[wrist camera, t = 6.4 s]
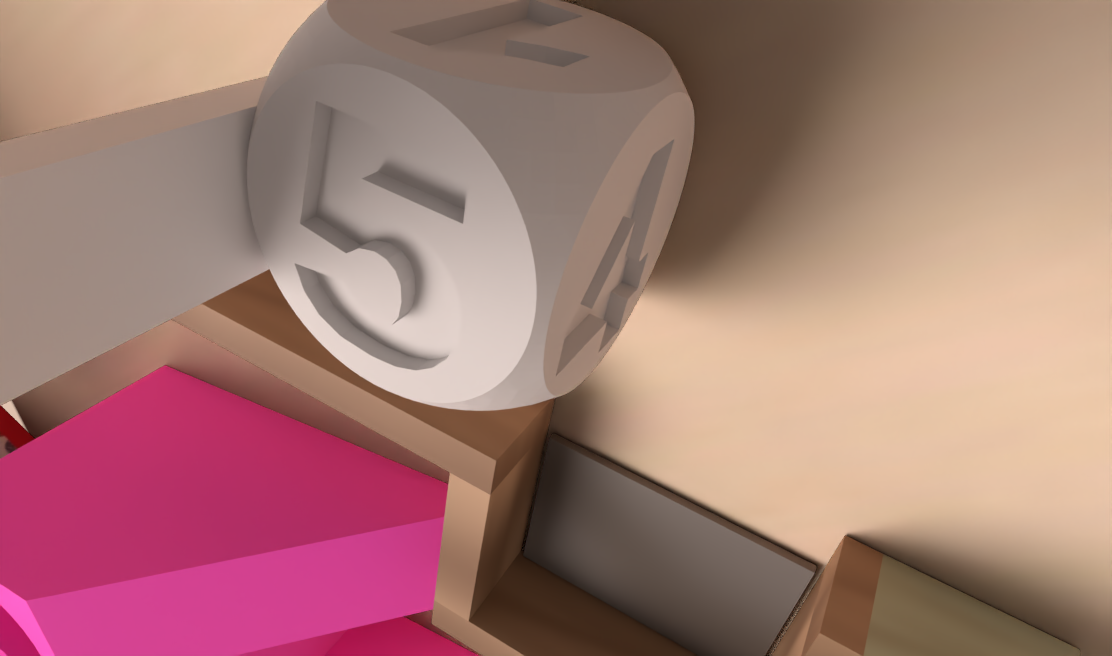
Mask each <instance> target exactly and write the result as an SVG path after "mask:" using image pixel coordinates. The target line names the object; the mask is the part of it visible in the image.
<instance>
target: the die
mask: <svg viewBox="0 0 1112 656" xmlns="http://www.w3.org/2000/svg"><path fill="white" fill-rule="evenodd" d="M694 126H695V118H694V108H693V104H692V101H691V99H690V97H689V94H688V92H687V90H686V88H685V86H684V83H683V81H682V79H681V77H680V74H679V73H678V71H677V69H676V67H675V65H674V64H673V62H672V60H671V58H670V56H669V55H668V53H667V52H666V51H665V50H664V49H663V48H662V47H661V46H660V45H659V44H658V43H656V42H655V41H654V40H653V39H651V38H650V37H648V36H647V35H645V34H643V33H642V32H640V31H638V30H636V29H635V28H633V27H631V26H629V25H627V24H625V23H622V22H620V21H618V20H616V19H613V18H611V17H608V16H606V15H603V14H601V13H598V12H595V11H593V10H590V9H587V8H584V7H581V6H578V5H575V4H571V3H568V2H565V1H561V0H326V1H325V2H324V3H323V4H322V5H321V6H320V7H318V8H317V9H316V10H315V11H314V12H313V13H312V14H311V15H310V16H309V17H308V18H307V19H306V21H305V22H304V23H303V24H302V25H301V26H300V27H299V28H298V30H297V31H296V32H295V33H294V34H293V36H292V37H291V38H290V40H289V41H288V43H287V44H286V46H285V47H284V48H283V50H282V52H281V53H280V55H279V57H278V58H277V60H276V62H275V64H274V65H273V67H272V69H271V71H270V73H269V76H268V78H267V80H266V82H265V85H264V87H263V90H262V92H261V95H260V98H259V101H258V104H257V107H256V111H255V115H254V118H253V123H252V127H251V132H250V139H249V146H248V157H247V190H248V200H249V206H250V212H251V216H252V221H253V225H254V229H255V232H256V236H257V239H258V242H259V245H260V248H261V250H262V253H263V256H264V258H265V260H266V263H267V265H268V267H269V269H270V271H271V273H272V275H273V277H274V279H275V281H276V283H277V285H278V287H279V289H280V290H281V292H282V294H283V295H284V297H285V299H286V300H287V302H288V303H289V305H290V306H291V308H292V309H293V311H294V312H295V313H296V315H297V316H298V317H299V319H300V320H301V321H302V323H303V324H304V325H305V326H306V328H307V329H308V330H309V331H310V332H311V333H312V335H313V336H314V337H315V338H316V339H317V340H318V341H319V342H320V343H321V344H322V345H323V346H324V347H325V348H326V349H327V350H328V351H329V352H330V353H331V354H332V355H333V356H334V357H336V358H337V359H338V360H339V361H341V362H342V363H343V364H344V365H345V366H347V367H348V368H349V369H351V370H352V371H354V372H355V373H357V374H358V375H359V376H361V377H363V378H364V379H366V380H368V381H369V382H371V383H373V384H374V385H376V386H378V387H381V388H383V389H385V390H387V391H389V392H392V393H394V394H397V395H399V396H402V397H404V398H407V399H410V400H413V401H416V402H420V403H424V404H428V405H432V406H437V407H443V408H449V409H458V410H472V411H490V410H503V409H511V408H517V407H523V406H528V405H533V404H536V403H540V402H543V401H546V400H549V399H552V398H556V397H559V396H562V395H565V394H567V393H569V392H571V391H572V390H574V389H575V388H576V387H577V386H579V385H580V384H581V383H582V382H583V381H584V380H585V379H586V378H587V377H588V376H589V375H590V374H591V372H592V371H593V370H594V369H595V368H596V366H597V365H598V364H599V363H600V361H601V360H602V359H603V357H604V356H605V355H606V353H607V352H608V350H609V349H610V347H611V346H612V344H613V343H614V341H615V340H616V338H617V337H618V335H619V333H620V332H621V330H622V328H623V327H624V325H625V323H626V322H627V320H628V318H629V316H630V315H631V313H632V311H633V309H634V307H635V305H636V303H637V301H638V300H639V298H640V296H641V294H642V292H643V290H644V288H645V286H646V283H647V281H648V279H649V277H650V275H651V273H652V271H653V268H654V266H655V264H656V262H657V259H658V257H659V255H660V252H661V250H662V247H663V245H664V242H665V240H666V237H667V235H668V232H669V229H670V227H671V224H672V221H673V218H674V215H675V212H676V209H677V206H678V203H679V200H680V197H681V193H682V190H683V187H684V183H685V179H686V175H687V171H688V167H689V162H690V157H691V152H692V146H693V139H694Z"/></svg>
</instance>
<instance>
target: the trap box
mask: <svg viewBox="0 0 1112 656" xmlns="http://www.w3.org/2000/svg"><path fill="white" fill-rule="evenodd" d="M172 320H173V321H175V322H177V323H179V324H181V325H182V326H184V327H186V328H188V329H190V330H192V331H193V332H195V333H197V334H199V335H201V336H202V337H204V338H206V339H208V340H210V341H211V342H213V343H215V344H217V345H219V346H221V347H222V348H224V349H226V350H228V351H230V352H231V353H233V354H235V355H237V356H239V357H241V358H242V359H244V360H246V361H248V362H250V363H251V364H253V365H255V366H257V367H259V368H261V369H262V370H264V371H266V372H268V373H270V374H271V375H273V376H275V377H277V378H279V379H281V380H282V381H284V382H286V383H288V384H290V385H291V386H293V387H295V388H297V389H299V390H301V391H302V392H304V393H306V394H308V395H310V396H311V397H313V398H315V399H317V400H319V401H321V402H322V403H324V404H326V405H328V406H330V407H331V408H333V409H335V410H337V411H339V412H340V413H342V414H344V415H346V416H348V417H350V418H351V419H353V420H355V421H357V422H359V423H360V424H362V425H364V426H366V427H368V428H370V429H371V430H373V431H375V432H377V433H379V434H380V435H382V436H384V437H386V438H388V439H390V440H391V441H393V442H395V443H397V444H399V445H400V446H402V447H404V448H406V449H408V450H410V451H411V452H413V453H415V454H417V455H419V456H420V457H422V458H424V459H426V460H428V461H430V462H431V463H433V464H435V465H437V466H439V467H440V468H442V469H444V470H446V471H448V472H450V475H449V483H448V491H447V499H446V507H445V516H444V524H443V532H442V540H441V548H440V557H439V565H438V573H437V581H436V589H435V598H434V606H433V614H432V622H431V624H433V625H434V626H436V627H438V628H439V629H441V630H442V631H444V632H445V633H447V634H449V635H450V636H452V637H453V638H455V639H457V640H458V641H460V642H461V643H463V644H465V645H466V646H468V647H469V648H471V649H473V650H474V651H476V652H477V653H479V654H480V655H482V656H765V655H766V653H767V651H768V650H769V648H770V646H771V645H772V643H773V642H774V640H775V638H776V637H777V635H778V633H779V632H780V630H781V628H782V627H783V625H784V623H785V622H786V620H787V618H788V617H789V615H790V613H791V612H792V610H793V608H794V607H795V605H796V603H797V602H798V600H799V598H800V597H801V595H802V593H803V592H804V590H805V588H806V587H807V585H808V583H809V582H810V580H811V578H812V577H813V575H814V573H815V571H816V567H817V566H816V565H814V564H812V563H810V562H808V561H806V560H804V559H802V558H800V557H798V556H796V555H794V554H792V553H790V552H788V551H786V550H784V549H782V548H780V547H778V546H776V545H774V544H772V543H770V542H768V541H766V540H764V539H762V538H760V537H758V536H756V535H754V534H752V533H750V532H748V531H746V530H744V529H743V528H741V527H739V526H737V525H735V524H733V523H731V522H729V521H727V520H725V519H723V518H721V517H719V516H717V515H715V514H713V513H711V512H709V511H707V510H705V509H703V508H701V507H699V506H697V505H695V504H693V503H691V502H689V501H687V500H685V499H683V498H681V497H679V496H677V495H675V494H673V493H671V492H669V491H667V490H665V489H663V488H661V487H659V486H657V485H655V484H654V483H652V482H650V481H648V480H646V479H644V478H642V477H640V476H638V475H636V474H634V473H632V472H630V471H628V470H626V469H624V468H622V467H620V466H618V465H616V464H614V463H612V462H610V461H608V460H606V459H604V458H602V457H600V456H598V455H596V454H594V453H592V452H590V451H588V450H586V449H584V448H582V447H580V446H578V445H576V444H574V443H572V442H570V441H568V440H567V439H565V438H563V437H561V436H559V435H557V434H555V433H553V434H552V436H551V437H550V438H549V442H548V447H547V451H546V456H545V460H544V465H543V469H542V473H541V478H540V482H539V487H538V491H537V496H536V500H535V504H534V509H533V513H532V518H531V522H530V527H529V531H528V535H527V540H526V544H525V549H524V551H522V550H521V549H522V545H523V540H524V536H525V531H526V527H527V522H528V518H529V513H530V509H531V504H532V500H533V495H534V491H535V486H536V482H537V477H538V473H539V468H540V464H541V459H542V455H543V450H544V446H545V441H546V437H547V432H548V428H549V423H550V419H551V414H552V410H553V405H554V401H555V398H552V399H549V400H546V401H543V402H540V403H536V404H533V405H528V406H523V407H517V408H511V409H503V410H490V411H472V410H458V409H449V408H443V407H437V406H432V405H428V404H424V403H420V402H416V401H413V400H410V399H407V398H404V397H402V396H399V395H397V394H394V393H392V392H389V391H387V390H385V389H383V388H381V387H378V386H376V385H374V384H373V383H371V382H369V381H368V380H366V379H364V378H363V377H361V376H359V375H358V374H357V373H355V372H354V371H352V370H351V369H349V368H348V367H347V366H345V365H344V364H343V363H342V362H341V361H339V360H338V359H337V358H336V357H334V356H333V355H332V354H331V353H330V352H329V351H328V350H327V349H326V348H325V347H324V346H323V345H322V344H321V343H320V342H319V341H318V340H317V339H316V338H315V337H314V336H313V335H312V333H311V332H310V331H309V330H308V329H307V328H306V326H305V325H304V324H303V323H302V321H301V320H300V319H299V317H298V316H297V315H296V313H295V312H294V311H293V309H292V308H291V306H290V305H289V303H288V302H287V300H286V299H285V297H284V295H283V294H282V292H281V290H280V289H279V287H278V285H277V283H276V281H275V279H274V277H273V275H272V273H271V271H270V269H269V270H267V271H265V272H263V273H261V274H259V275H257V276H255V277H253V278H251V279H249V280H247V281H245V282H243V283H241V284H239V285H237V286H235V287H233V288H231V289H229V290H227V291H225V292H223V293H221V294H219V295H217V296H215V297H213V298H212V299H210V300H208V301H206V302H204V303H202V304H200V305H198V306H196V307H194V308H192V309H190V310H188V311H186V312H184V313H182V314H180V315H178V316H176V317H174V318H172ZM771 656H1080V649H1077V648H1075V647H1073V646H1071V645H1069V644H1067V643H1065V642H1063V641H1061V640H1059V639H1057V638H1055V637H1053V636H1051V635H1049V634H1047V633H1045V632H1043V631H1041V630H1038V629H1036V628H1034V627H1032V626H1030V625H1028V624H1026V623H1024V622H1022V621H1020V620H1018V619H1016V618H1014V617H1012V616H1010V615H1008V614H1006V613H1004V612H1002V611H999V610H997V609H995V608H993V607H991V606H989V605H987V604H985V603H983V602H981V601H979V600H977V599H975V598H973V597H971V596H969V595H967V594H965V593H963V592H960V591H958V590H956V589H954V588H952V587H950V586H948V585H946V584H944V583H942V582H940V581H938V580H936V579H934V578H932V577H930V576H928V575H926V574H924V573H922V572H919V571H917V570H915V569H913V568H911V567H909V566H907V565H905V564H903V563H901V562H899V561H897V560H895V559H893V558H891V557H889V556H887V555H885V554H883V553H880V552H878V551H876V550H874V549H872V548H870V547H868V546H866V545H864V544H862V543H860V542H858V541H856V540H854V539H852V538H850V537H848V536H846V535H845V536H844V538H843V539H842V541H841V543H840V544H839V546H838V548H837V549H836V551H835V553H834V554H833V556H832V557H831V559H830V561H829V562H828V564H827V566H826V567H825V569H824V570H823V572H822V574H821V575H820V577H819V579H818V580H817V582H816V584H815V585H814V587H813V588H812V590H811V592H810V593H809V595H808V597H807V598H806V600H805V602H804V603H803V605H802V606H801V608H800V610H799V611H798V613H797V615H796V616H795V618H794V620H793V621H792V623H791V624H790V626H789V628H788V629H787V631H786V633H785V634H784V636H783V638H782V639H781V641H780V642H779V644H778V646H777V647H776V649H775V651H774V652H773V654H772V655H771Z"/></svg>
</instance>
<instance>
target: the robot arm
mask: <svg viewBox="0 0 1112 656" xmlns="http://www.w3.org/2000/svg"><path fill="white" fill-rule="evenodd" d="M267 78H268V76H266V77H262V78H258V79H254V80H250V81H246V82H242V83H238V84H234V85H230V86H226V87H222V88H218V89H213V90H209V91H205V92H201V93H197V94H193V95H189V96H185V97H181V98H177V99H173V100H169V101H165V102H160V103H156V104H152V105H148V106H144V107H140V108H136V109H132V110H128V111H124V112H120V113H116V114H112V115H108V116H103V117H99V118H95V119H91V120H87V121H83V122H79V123H75V124H71V125H67V126H63V127H59V128H55V129H50V130H46V131H42V132H38V133H34V134H30V135H26V136H22V137H18V138H14V139H10V140H6V141H2V142H0V406H1V405H3V404H5V403H7V402H8V401H11V400H13V399H15V398H17V397H18V396H20V395H22V394H24V393H26V392H28V391H30V390H32V389H34V388H36V387H38V386H40V385H42V384H44V383H46V382H48V381H50V380H52V379H54V378H56V377H58V376H60V375H62V374H64V373H66V372H68V371H70V370H72V369H74V368H76V367H78V366H80V365H82V364H83V363H85V362H87V361H89V360H91V359H93V358H95V357H97V356H99V355H101V354H103V353H105V352H107V351H109V350H111V349H113V348H115V347H117V346H119V345H121V344H123V343H125V342H127V341H129V340H131V339H133V338H135V337H137V336H139V335H141V334H143V333H145V332H147V331H148V330H150V329H152V328H154V327H156V326H158V325H160V324H162V323H164V322H166V321H168V320H170V319H172V318H174V317H176V316H178V315H180V314H182V313H184V312H186V311H188V310H190V309H192V308H194V307H196V306H198V305H200V304H202V303H204V302H206V301H208V300H210V299H212V298H213V297H215V296H217V295H219V294H221V293H223V292H225V291H227V290H229V289H231V288H233V287H235V286H237V285H239V284H241V283H243V282H245V281H247V280H249V279H251V278H253V277H255V276H257V275H259V274H261V273H263V272H265V271H267V270H269V267H268V265H267V263H266V260H265V258H264V256H263V253H262V250H261V248H260V245H259V242H258V239H257V236H256V232H255V229H254V225H253V221H252V216H251V212H250V206H249V200H248V190H247V157H248V146H249V139H250V132H251V127H252V123H253V118H254V115H255V111H256V107H257V104H258V101H259V98H260V95H261V92H262V90H263V87H264V85H265V82H266V80H267Z"/></svg>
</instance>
